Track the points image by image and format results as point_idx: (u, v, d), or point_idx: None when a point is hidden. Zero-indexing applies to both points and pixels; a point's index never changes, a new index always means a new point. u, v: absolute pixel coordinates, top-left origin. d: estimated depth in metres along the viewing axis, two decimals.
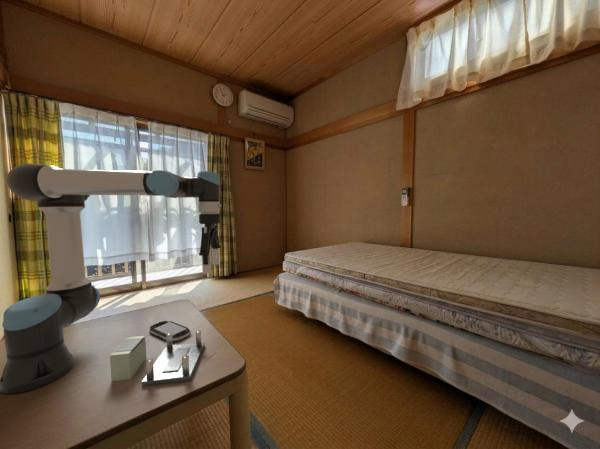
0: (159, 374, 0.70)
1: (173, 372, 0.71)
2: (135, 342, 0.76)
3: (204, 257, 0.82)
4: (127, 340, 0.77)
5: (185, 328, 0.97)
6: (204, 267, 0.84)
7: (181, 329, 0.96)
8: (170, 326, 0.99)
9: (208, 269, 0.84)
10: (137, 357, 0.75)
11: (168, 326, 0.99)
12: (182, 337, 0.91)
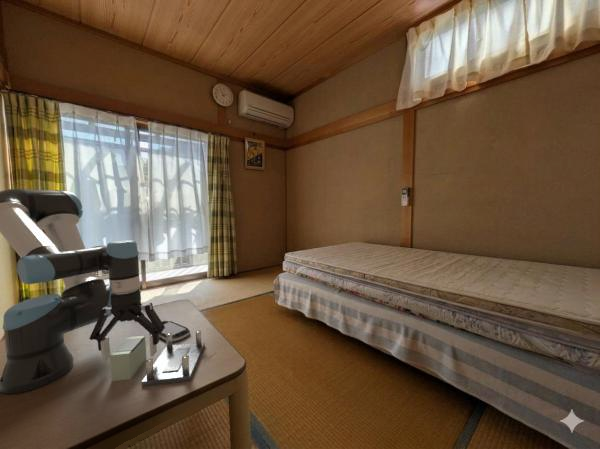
0: (159, 374, 0.70)
1: (173, 372, 0.71)
2: (135, 342, 0.76)
3: None
4: (127, 340, 0.77)
5: (185, 328, 0.97)
6: None
7: (181, 329, 0.96)
8: (170, 326, 0.99)
9: None
10: (137, 357, 0.75)
11: (168, 326, 0.99)
12: (181, 337, 0.91)
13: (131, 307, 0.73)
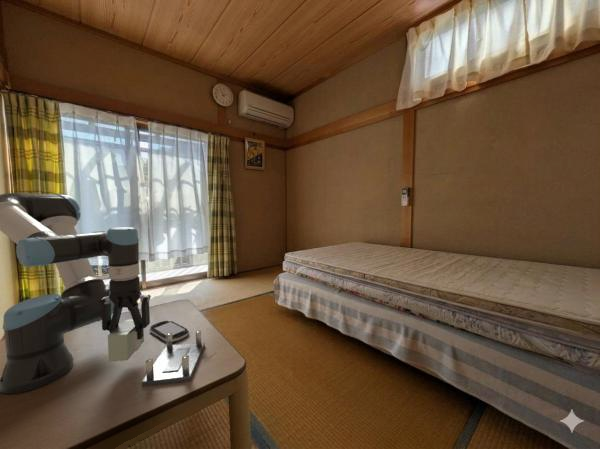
0: (159, 374, 0.70)
1: (173, 372, 0.71)
2: (133, 324, 0.75)
3: None
4: (124, 322, 0.77)
5: (184, 329, 0.96)
6: None
7: (180, 330, 0.96)
8: (170, 326, 0.99)
9: None
10: None
11: (168, 326, 0.99)
12: (179, 338, 0.91)
13: (131, 292, 0.73)
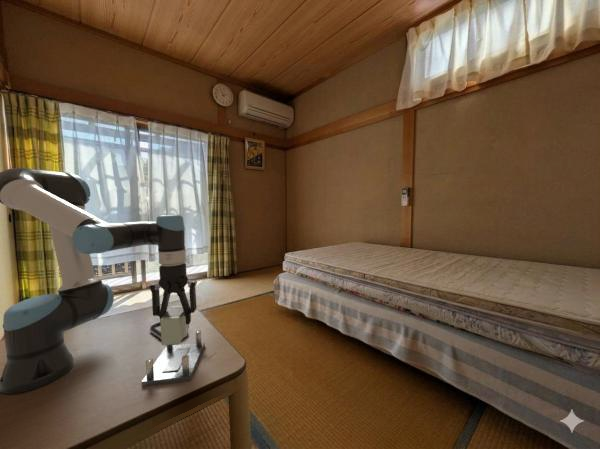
0: (159, 374, 0.70)
1: (173, 372, 0.71)
2: (181, 309, 0.77)
3: None
4: (172, 308, 0.78)
5: None
6: None
7: None
8: None
9: None
10: None
11: None
12: None
13: (180, 278, 0.75)
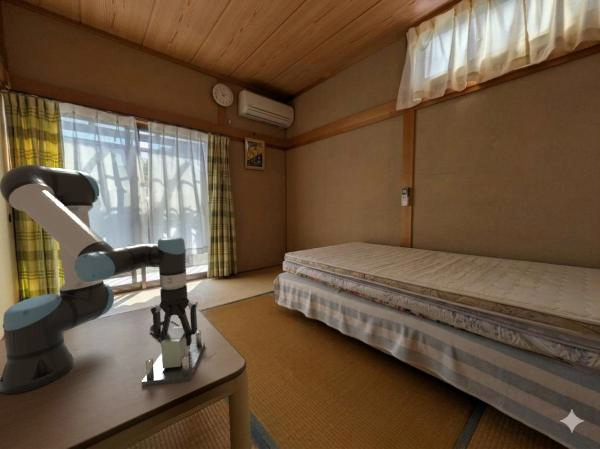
0: (159, 374, 0.70)
1: (173, 372, 0.71)
2: (182, 331, 0.78)
3: None
4: (172, 329, 0.79)
5: None
6: None
7: None
8: (169, 326, 0.99)
9: None
10: None
11: None
12: None
13: (180, 300, 0.75)
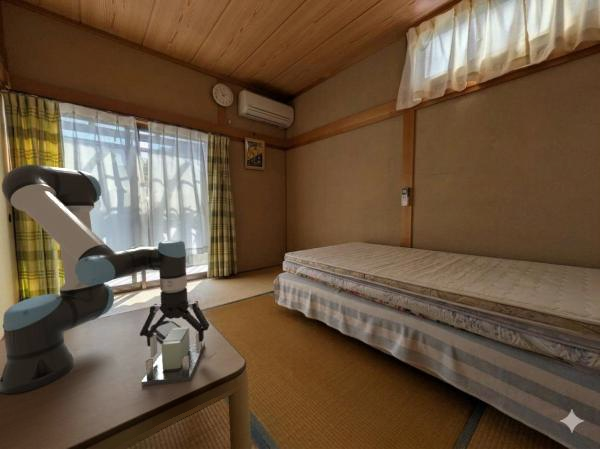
0: (159, 374, 0.70)
1: (173, 372, 0.71)
2: (182, 333, 0.78)
3: None
4: (172, 331, 0.79)
5: None
6: None
7: None
8: (169, 326, 0.99)
9: None
10: (184, 347, 0.77)
11: (168, 326, 0.99)
12: None
13: (179, 305, 0.75)
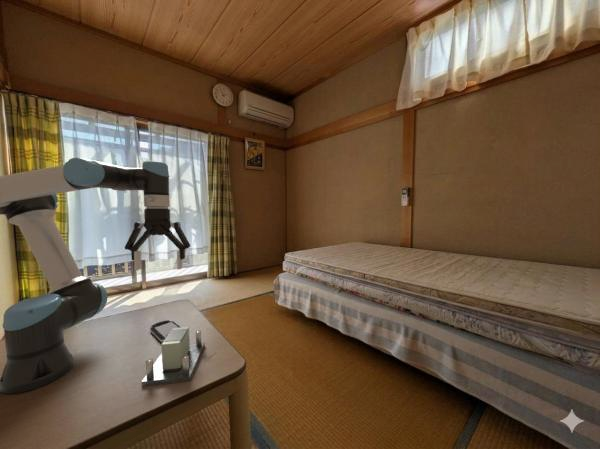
0: (159, 374, 0.70)
1: (173, 372, 0.71)
2: (182, 333, 0.78)
3: None
4: (172, 331, 0.79)
5: None
6: None
7: None
8: (169, 326, 0.98)
9: None
10: (184, 347, 0.77)
11: (168, 326, 0.99)
12: None
13: (162, 222, 0.80)
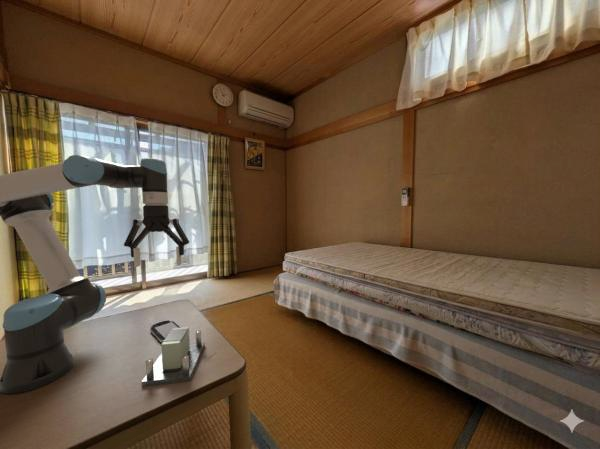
0: (159, 374, 0.70)
1: (173, 372, 0.71)
2: (182, 333, 0.78)
3: None
4: (172, 331, 0.79)
5: None
6: None
7: None
8: (169, 327, 0.98)
9: None
10: (184, 347, 0.77)
11: (168, 326, 0.99)
12: None
13: (161, 219, 0.81)
